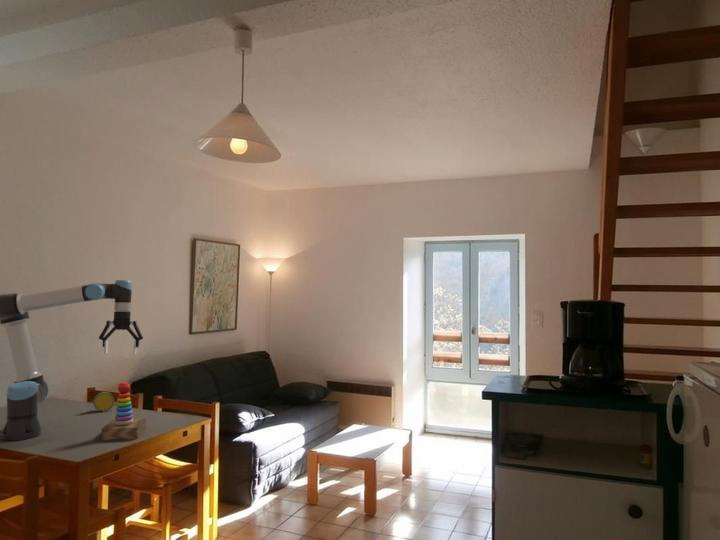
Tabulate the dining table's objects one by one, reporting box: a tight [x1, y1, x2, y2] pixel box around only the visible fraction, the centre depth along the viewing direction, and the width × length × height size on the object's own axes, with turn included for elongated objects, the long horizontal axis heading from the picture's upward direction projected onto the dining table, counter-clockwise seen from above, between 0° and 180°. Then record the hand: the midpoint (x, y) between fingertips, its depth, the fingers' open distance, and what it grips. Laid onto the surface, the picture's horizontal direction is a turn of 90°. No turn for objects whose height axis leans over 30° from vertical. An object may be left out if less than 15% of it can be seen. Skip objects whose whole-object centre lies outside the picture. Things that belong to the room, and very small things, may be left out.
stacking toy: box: [114, 381, 134, 425], centre depth 237 cm, size 8×8×19 cm
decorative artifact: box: [92, 391, 115, 412], centre depth 282 cm, size 10×7×10 cm
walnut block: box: [100, 418, 147, 441], centre depth 237 cm, size 15×15×5 cm
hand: (120, 353), depth 259 cm, fingers open, 13 cm apart
